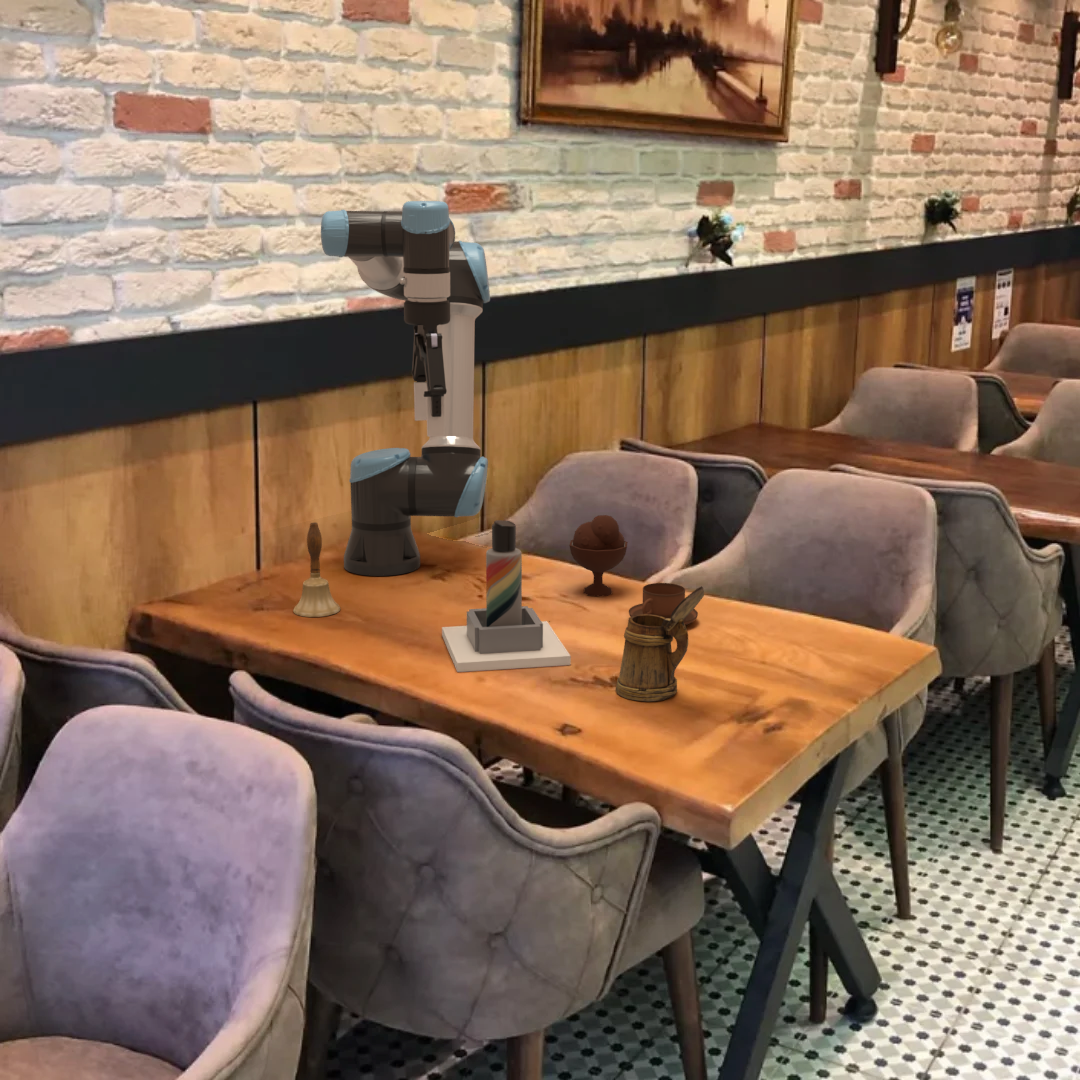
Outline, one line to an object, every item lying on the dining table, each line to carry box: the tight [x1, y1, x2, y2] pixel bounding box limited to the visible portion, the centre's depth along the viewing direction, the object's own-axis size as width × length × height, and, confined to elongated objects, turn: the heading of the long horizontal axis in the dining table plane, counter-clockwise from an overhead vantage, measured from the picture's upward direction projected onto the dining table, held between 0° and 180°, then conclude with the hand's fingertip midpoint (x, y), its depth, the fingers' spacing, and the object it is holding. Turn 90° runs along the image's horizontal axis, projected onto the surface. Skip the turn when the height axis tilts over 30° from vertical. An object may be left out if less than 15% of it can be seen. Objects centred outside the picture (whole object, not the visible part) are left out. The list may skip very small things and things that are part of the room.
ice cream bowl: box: [569, 514, 629, 597], centre depth 245 cm, size 11×11×15 cm
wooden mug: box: [614, 586, 705, 703], centre depth 193 cm, size 9×14×18 cm, turn 52°
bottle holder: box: [441, 605, 572, 673], centre depth 214 cm, size 18×18×6 cm
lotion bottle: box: [485, 519, 523, 627], centre depth 212 cm, size 6×6×20 cm
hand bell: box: [293, 522, 341, 618], centre depth 232 cm, size 8×8×16 cm
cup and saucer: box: [628, 582, 699, 626], centre depth 229 cm, size 12×12×6 cm
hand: (429, 427), depth 220 cm, fingers open, 13 cm apart
